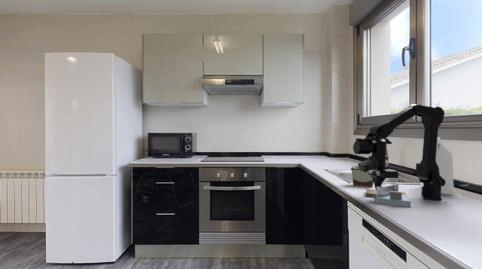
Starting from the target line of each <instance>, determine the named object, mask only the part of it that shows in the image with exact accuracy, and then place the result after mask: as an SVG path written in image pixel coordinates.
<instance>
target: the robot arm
mask: <svg viewBox="0 0 482 269" xmlns="http://www.w3.org/2000/svg"><path fill="white" fill-rule="evenodd" d="M414 116H416V117H419V118H420V119H421V123H422V125H423V127H424V130H423V142H422V143H423V144H422V145H423V146H422V157H421V161H420V162H419V163H418V162H417V163H415V171H414V172H415V173H416V176H417V178H418V181H419V182H420V184H421V183H423V186H421V185H420V188H421V190H420V195H421V197H422V198H423V199H426V200H435V201H442V199H443V198H442V194H441V186H444V185H445V182H446V181H445V180H444V179H443V178H442V177H441V176H440V173H439V167H438V165H437V163H436V150H437V138H439V136H438V134H439V128H440V127H441V125H442V123H443V121H444V118H445V110H444V109H443V108H442V107H440V106H428V105H421V104H418V103H415V104H410V105H408V106H407V107H406V108H404V109H403V110H401V111H400V112H398V113H396V114H395V115H394V116H392V117H391V118H389V119H387V120H385V121H382V122H379V123H376V124H373V125H372V126H371V127H370V128H369V132H368V133H367V135H366V136H365V137H364V138H360V137H359V138H357V137H356V138H355V141H354V143H353V146H352V151H353V154H355V155H368V158H367V160H366V159H365V160H363V161H361V162H358V163H357V166H358V167H359V170H360V171H363V172H368V171H369V173H368V174H369V175H370V176H371V177H372V179H373V186H374V190H377V186H381V185H383V183H384V181H385V180H386V179H399V177H400V175H399V171H397V170H394V169H391V168H389V167H388V166H387V164H386V162H387V161H389V157H388V156H387V145H392V144H393V142H392V141H390V140H389V138H388V137H389V136H391V135H392V133H393V132H394V130H396V128H397V127H399V126H401V125H402V124H404V123H405V122H407V121H408V120H410V119H411V118H413V117H414ZM370 154H371V155H370Z"/></svg>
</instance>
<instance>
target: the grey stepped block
mask: <svg viewBox="0 0 482 269" xmlns="http://www.w3.org/2000/svg"><path fill="white" fill-rule="evenodd" d="M402 192H403V191H398V192H397V191H390V194H387V195H378V194H377V193H376V197H375V201H376V202H375V203H376V204H378V205H389V206H399V207H406V208H407V207H409V208H411V207H412V206H411V204H412V202H411V199H410V197H409V195H407V194H406V195H402Z"/></svg>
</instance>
